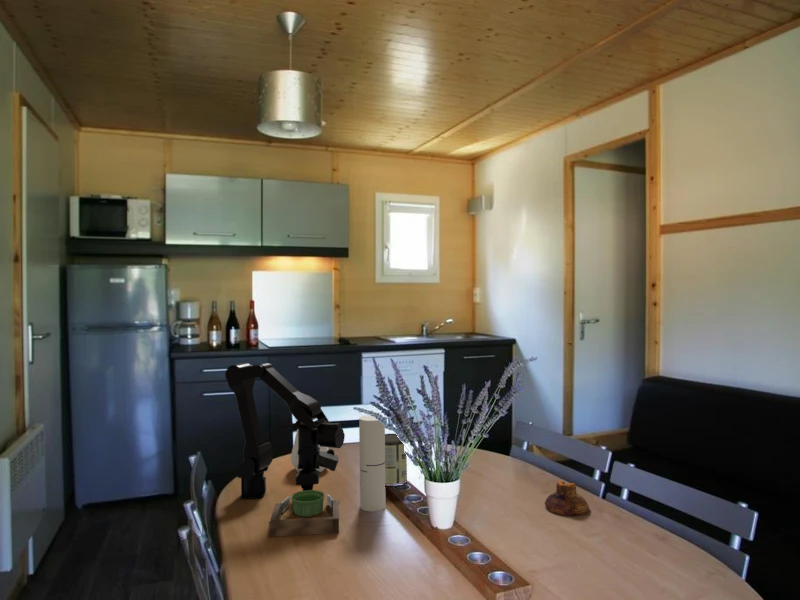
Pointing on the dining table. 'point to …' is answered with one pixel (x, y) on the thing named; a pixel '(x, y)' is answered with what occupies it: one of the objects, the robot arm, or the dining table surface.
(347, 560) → the dining table surface
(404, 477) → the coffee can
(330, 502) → the bar
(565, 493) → the brown rounded necked piece
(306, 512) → the ramekin
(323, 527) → the walnut dock
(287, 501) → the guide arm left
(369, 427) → the cylindrical container
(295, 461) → the cup
